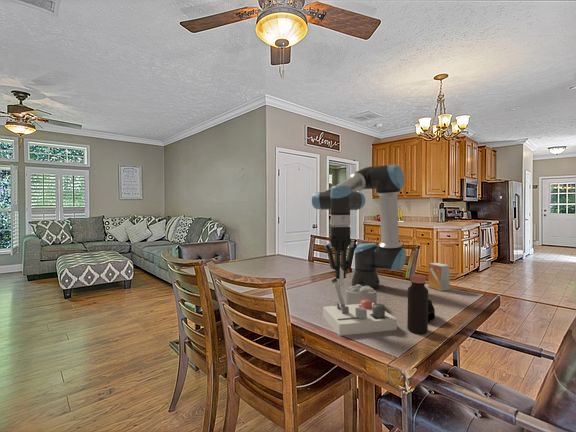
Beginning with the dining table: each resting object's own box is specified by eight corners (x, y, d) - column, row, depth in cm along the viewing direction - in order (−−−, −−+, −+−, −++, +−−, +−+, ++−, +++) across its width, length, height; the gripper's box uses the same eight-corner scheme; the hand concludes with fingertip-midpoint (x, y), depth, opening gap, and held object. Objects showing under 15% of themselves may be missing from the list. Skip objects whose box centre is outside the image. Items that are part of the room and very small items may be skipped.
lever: (344, 306, 120) (334, 276, 119) (347, 308, 117) (337, 278, 116) (339, 308, 120) (329, 278, 119) (342, 311, 117) (332, 280, 115)
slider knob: (363, 315, 113) (363, 307, 113) (366, 318, 110) (366, 310, 110) (355, 315, 113) (355, 307, 113) (359, 318, 110) (359, 310, 110)
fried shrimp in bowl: (419, 313, 113) (393, 286, 130) (423, 334, 118) (397, 305, 134) (441, 304, 114) (412, 277, 130) (444, 324, 119) (416, 296, 135)
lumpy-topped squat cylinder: (378, 309, 131) (378, 289, 130) (348, 310, 130) (348, 290, 130) (370, 301, 141) (371, 283, 141) (343, 302, 141) (343, 283, 140)
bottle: (431, 334, 107) (432, 277, 106) (412, 335, 106) (413, 278, 105) (421, 326, 113) (422, 273, 112) (403, 326, 113) (404, 273, 112)
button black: (381, 317, 116) (381, 303, 115) (387, 321, 111) (387, 307, 111) (370, 318, 115) (370, 304, 114) (376, 322, 110) (376, 308, 110)
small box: (428, 287, 164) (428, 263, 163) (436, 285, 166) (437, 262, 166) (440, 291, 156) (441, 266, 156) (449, 289, 159) (450, 265, 158)
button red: (368, 312, 125) (369, 298, 125) (374, 315, 121) (374, 302, 121) (359, 312, 125) (359, 299, 124) (363, 316, 120) (363, 303, 120)
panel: (373, 312, 128) (373, 297, 128) (396, 329, 110) (396, 312, 110) (323, 316, 123) (323, 301, 123) (339, 335, 106) (339, 317, 105)
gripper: (327, 227, 112) (327, 290, 113) (360, 226, 114) (360, 288, 115) (321, 225, 119) (321, 285, 120) (352, 224, 122) (352, 283, 123)
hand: (340, 286), depth 118 cm, fingers closed
